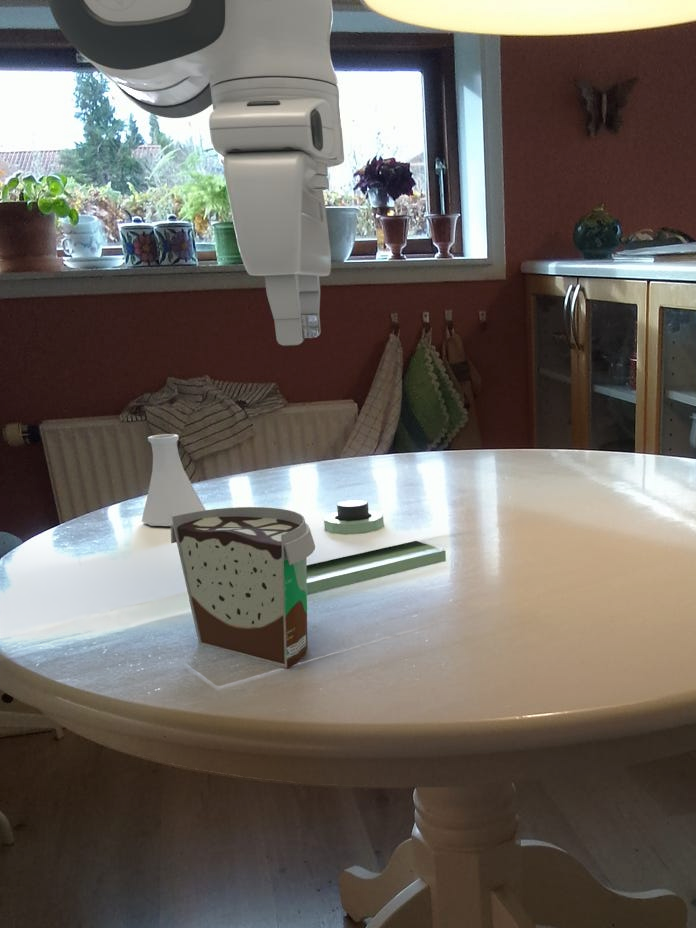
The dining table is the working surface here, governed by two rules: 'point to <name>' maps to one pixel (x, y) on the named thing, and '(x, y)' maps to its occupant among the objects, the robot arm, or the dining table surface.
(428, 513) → the dining table surface
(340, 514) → the tare button
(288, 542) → the food container
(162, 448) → the flask
